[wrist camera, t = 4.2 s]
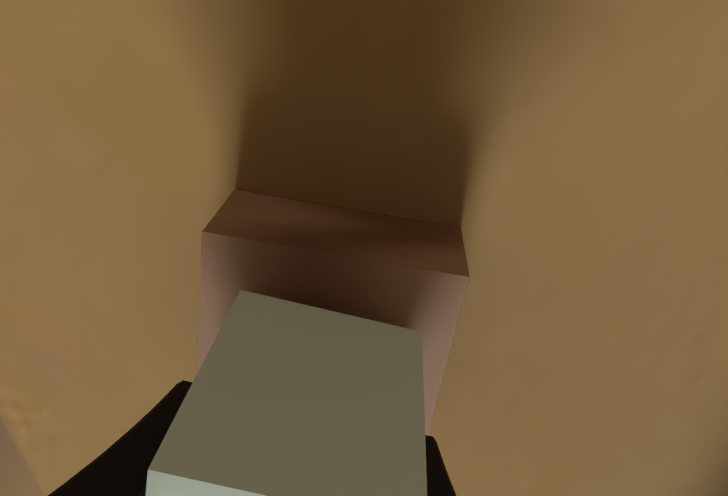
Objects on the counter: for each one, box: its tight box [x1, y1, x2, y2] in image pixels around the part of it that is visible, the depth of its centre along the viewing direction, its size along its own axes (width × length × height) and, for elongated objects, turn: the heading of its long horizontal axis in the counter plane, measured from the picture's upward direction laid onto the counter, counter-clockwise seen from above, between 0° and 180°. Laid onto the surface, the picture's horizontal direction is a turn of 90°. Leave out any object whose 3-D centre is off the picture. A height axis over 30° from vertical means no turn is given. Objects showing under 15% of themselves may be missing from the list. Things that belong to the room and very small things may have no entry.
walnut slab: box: [197, 190, 470, 435], centre depth 16 cm, size 6×6×3 cm
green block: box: [146, 290, 427, 496], centre depth 11 cm, size 4×4×5 cm
